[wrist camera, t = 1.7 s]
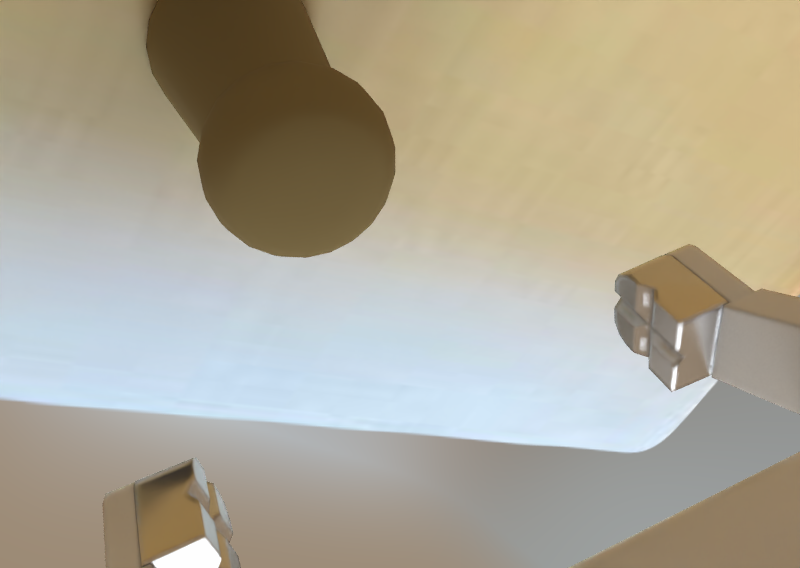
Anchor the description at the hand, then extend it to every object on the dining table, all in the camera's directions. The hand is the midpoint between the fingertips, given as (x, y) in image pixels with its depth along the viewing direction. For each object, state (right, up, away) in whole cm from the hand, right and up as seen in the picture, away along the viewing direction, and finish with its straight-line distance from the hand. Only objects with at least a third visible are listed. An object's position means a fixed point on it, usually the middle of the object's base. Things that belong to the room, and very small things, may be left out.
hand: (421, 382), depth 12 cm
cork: (-7, +10, +13) cm, 18 cm away
